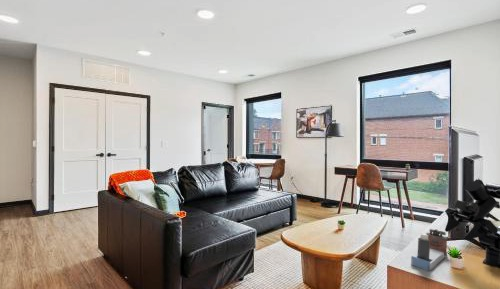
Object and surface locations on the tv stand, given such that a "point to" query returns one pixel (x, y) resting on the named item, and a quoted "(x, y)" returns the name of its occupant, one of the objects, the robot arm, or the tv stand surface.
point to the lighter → (437, 240)
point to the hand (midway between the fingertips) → (455, 235)
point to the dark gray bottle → (423, 247)
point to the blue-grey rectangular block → (433, 260)
